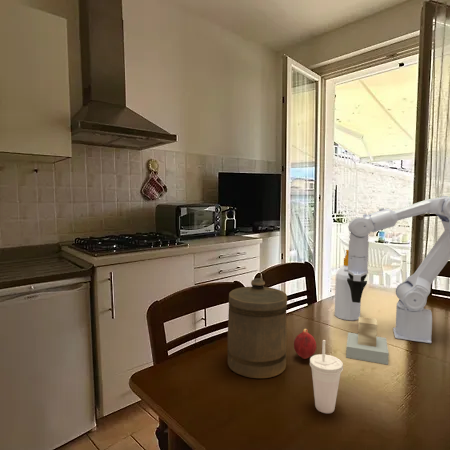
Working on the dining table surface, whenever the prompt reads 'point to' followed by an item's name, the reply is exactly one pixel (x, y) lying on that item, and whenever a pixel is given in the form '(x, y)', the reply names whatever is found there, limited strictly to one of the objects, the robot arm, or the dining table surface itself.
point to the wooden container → (257, 330)
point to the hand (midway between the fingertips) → (356, 298)
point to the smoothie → (325, 380)
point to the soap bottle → (345, 296)
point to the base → (367, 350)
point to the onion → (305, 344)
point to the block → (367, 331)
